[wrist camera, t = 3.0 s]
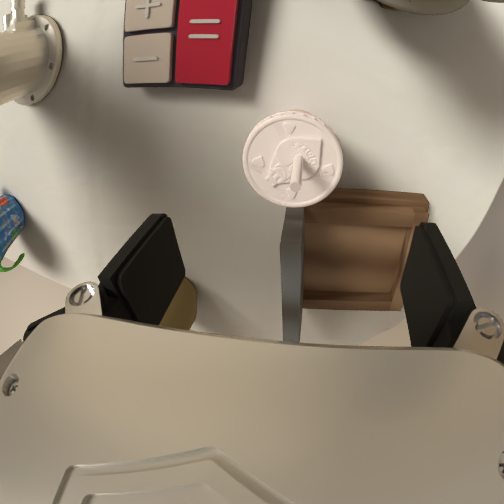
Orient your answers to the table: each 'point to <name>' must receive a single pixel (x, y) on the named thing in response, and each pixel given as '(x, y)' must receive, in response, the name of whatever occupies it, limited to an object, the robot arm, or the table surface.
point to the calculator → (185, 43)
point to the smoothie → (292, 159)
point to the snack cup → (9, 226)
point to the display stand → (347, 252)
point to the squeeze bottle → (182, 308)
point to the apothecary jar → (426, 5)
